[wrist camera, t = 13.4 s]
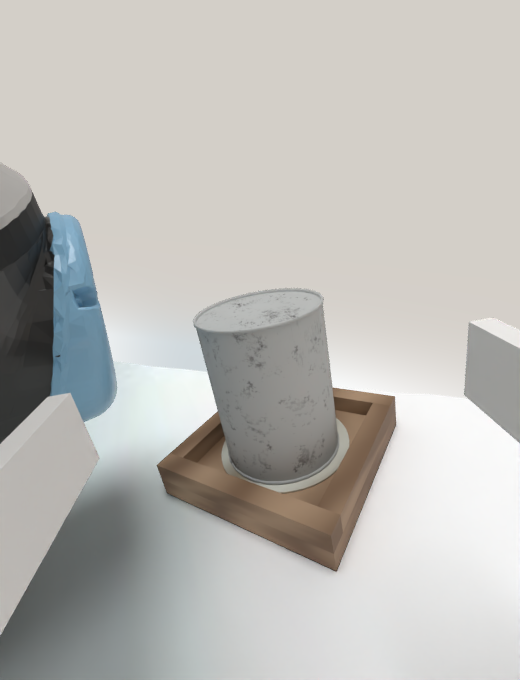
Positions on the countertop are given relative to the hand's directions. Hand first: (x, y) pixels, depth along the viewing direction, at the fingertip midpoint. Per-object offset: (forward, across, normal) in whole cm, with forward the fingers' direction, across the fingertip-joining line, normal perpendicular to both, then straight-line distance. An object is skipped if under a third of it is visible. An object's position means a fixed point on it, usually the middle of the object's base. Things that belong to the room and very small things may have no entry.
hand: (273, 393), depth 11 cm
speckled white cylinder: (+14, 0, -14) cm, 19 cm away
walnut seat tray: (+14, 0, -15) cm, 21 cm away
